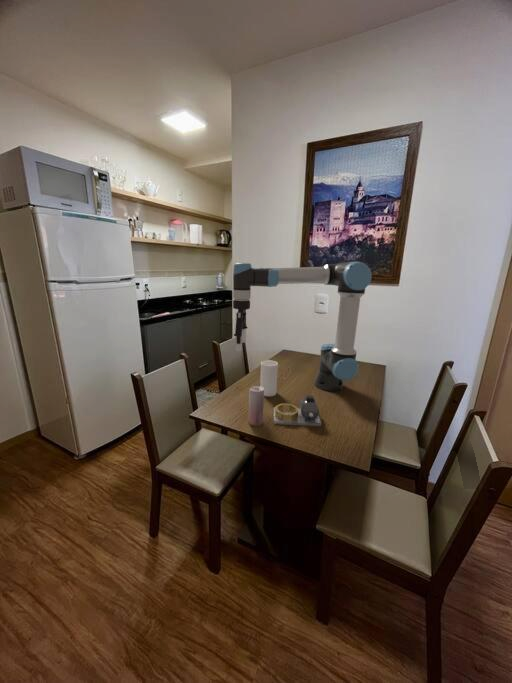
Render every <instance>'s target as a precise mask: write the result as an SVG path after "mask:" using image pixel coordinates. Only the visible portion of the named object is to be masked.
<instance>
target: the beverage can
mask: <svg viewBox="0 0 512 683" xmlns="http://www.w3.org/2000/svg"><path fill="white" fill-rule="evenodd" d="M264 402H265V396H264V388H263V387H261V386H260V385H253V386H250V387H249V391H248V415H247V416H248V418H247V419H248V421H247V422H248V423H249V424H250V425H251V426H255V427H258V426H261V425H262V424H263V423H264V406H265V404H264Z"/></svg>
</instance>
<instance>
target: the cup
mask: <svg viewBox="0 0 512 683" xmlns="http://www.w3.org/2000/svg"><path fill="white" fill-rule="evenodd" d="M278 368H279V363H278V362H277V360H276V361H275V360H269V359H268V360H267V359H266V360H263V361H261V362H260V381H259V382H260V383H259V384H260V385H259V386H261V387H263V388H264V397H274V396H276V395H277V389H278V388H277V386H278Z"/></svg>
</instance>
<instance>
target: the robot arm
mask: <svg viewBox="0 0 512 683" xmlns="http://www.w3.org/2000/svg"><path fill="white" fill-rule="evenodd" d="M232 278H233V282H232V285H233V291H232V292H231V294H232V297H233V298H232V299H233V300H232V308H233V309H234V310H237V312H236V314H235V316H236V319H235V328H234V329H235V331H234V334H233V337H235V350H234V351H235V352H236V351H237V352H242V351H243V343H244V344H245V343H246V339H247V338H246V334H247V333H246V332H247V331H246V330H247V329H248V326H247V310H250V309H251V296H252V295H251V293H252V292H251V291H252V290H251V287H268V288H272V287H278V285H291V284H292V285H293V284H296V285H297V284H323V285H325V286H328V285H329V286H335V287H336V286H337V293H338V295H339V297H340V299H339V307H338V315H337V316H338V318H337V324H336V332H335V333H336V334H335V343H324V344H322V345H321V348H320V355H319V356H320V357H319V369H318V372H317V374H316V376H315V379H314V385H315V386H316V387H317V388H319V389H321V390H324V391H329V392H335V391H336V392H337V391H340V390H343V388H344V381H349V380H352V379H353V378H354V377H355V376H356V375H357V374H358V372H359V368H360V367H359V363H358V361H357V351H356V350H355V341H356V334H357V333H356V332H357V327H358V326H357V325H358V319H359V312H360V302H361V297H363V296H364V295H365V292H366V288H367V287H368V286H369V285H370V284H371V282H372V270H371V268H370V267H369V266H368V265H367V264H366V263H364V262H362V261H356V260H354V261H343V262H338V263H332V264H325V265H323V266H310V267H309V266H306V267H305V266H303V267H272V268H271V267H269V268H267V267H265V268H264V267H260V268H259V267H258V268H254V267H252V264H251V263H249V262H248V263H247V262H243V263H241V262H236V263H234V264H233V277H232Z"/></svg>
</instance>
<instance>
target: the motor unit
mask: <svg viewBox="0 0 512 683" xmlns="http://www.w3.org/2000/svg"><path fill="white" fill-rule="evenodd" d="M319 410H320V409H319V407H318V404H317V401H316V400H315V397H314V395H305V396H303V397H301V399H300V400H299V408H298V406H296V405H295V404H292V403H279V404H278V405H275V407H273V424H274V425H289V426H306V427H322V420H321V417H320V411H319Z"/></svg>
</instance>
